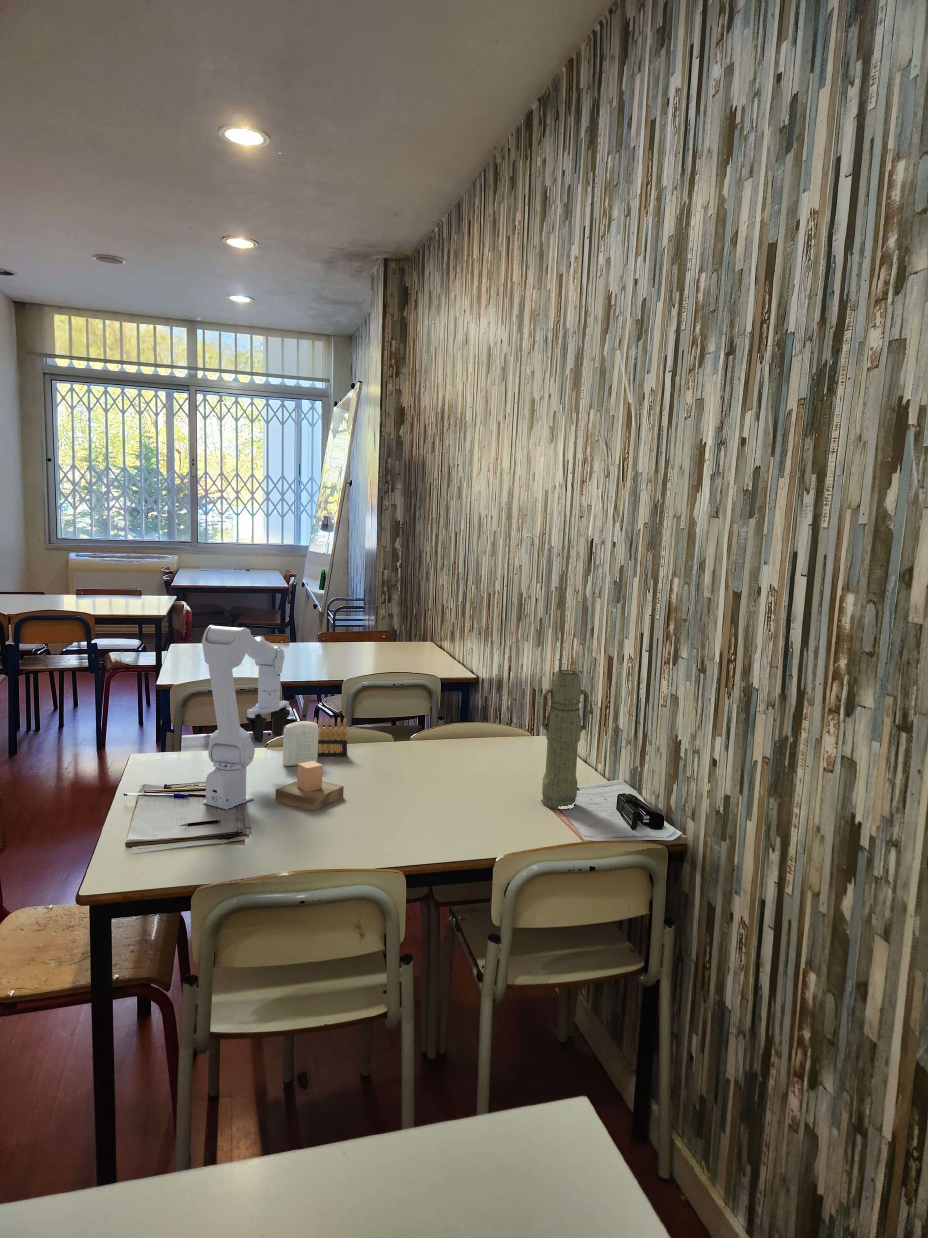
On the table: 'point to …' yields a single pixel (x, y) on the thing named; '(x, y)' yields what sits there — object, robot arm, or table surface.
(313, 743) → the white stone tablet
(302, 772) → the terracotta block
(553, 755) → the thermos
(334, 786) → the walnut plinth
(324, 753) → the ammunition clip
